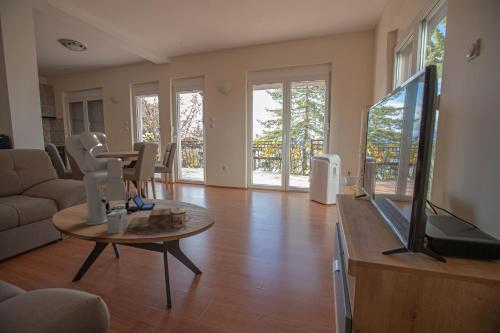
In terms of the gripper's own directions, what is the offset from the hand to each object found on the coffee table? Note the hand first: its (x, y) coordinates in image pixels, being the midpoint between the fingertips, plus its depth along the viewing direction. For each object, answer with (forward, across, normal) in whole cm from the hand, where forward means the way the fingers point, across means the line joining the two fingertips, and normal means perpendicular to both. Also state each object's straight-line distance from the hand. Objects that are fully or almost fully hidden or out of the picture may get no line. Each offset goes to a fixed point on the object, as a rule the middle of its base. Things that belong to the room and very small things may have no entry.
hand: (117, 209), depth 134 cm
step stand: (+12, +17, -2) cm, 21 cm away
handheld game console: (+12, +6, +45) cm, 47 cm away
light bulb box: (+12, -1, +1) cm, 12 cm away
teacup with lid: (+13, +34, 0) cm, 37 cm away
